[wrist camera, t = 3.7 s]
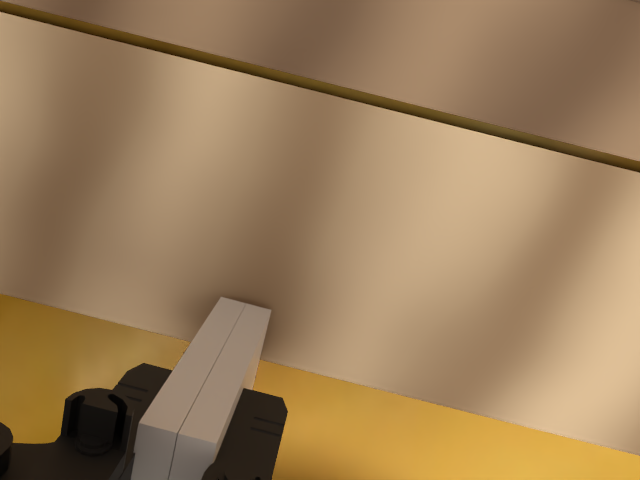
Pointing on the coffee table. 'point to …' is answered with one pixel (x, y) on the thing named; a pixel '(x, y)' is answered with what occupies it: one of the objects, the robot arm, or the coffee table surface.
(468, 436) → the coffee table surface
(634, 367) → the plank
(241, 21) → the laid board
